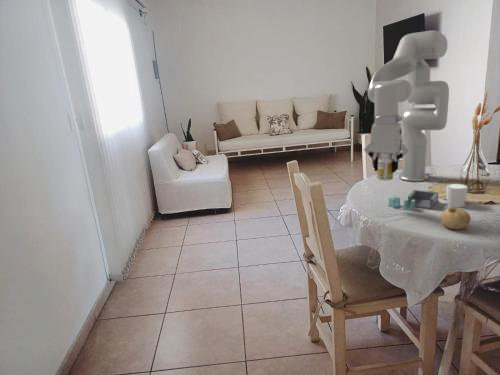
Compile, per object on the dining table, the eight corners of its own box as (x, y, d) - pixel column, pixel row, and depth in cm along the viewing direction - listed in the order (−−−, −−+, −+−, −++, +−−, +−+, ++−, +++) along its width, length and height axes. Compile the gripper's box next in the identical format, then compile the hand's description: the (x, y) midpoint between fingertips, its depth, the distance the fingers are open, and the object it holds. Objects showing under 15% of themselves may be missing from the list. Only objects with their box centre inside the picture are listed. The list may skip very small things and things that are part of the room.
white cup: (464, 201, 130) (465, 183, 128) (468, 208, 124) (470, 189, 122) (443, 201, 133) (444, 183, 131) (446, 207, 127) (447, 188, 125)
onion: (445, 220, 116) (446, 200, 114) (472, 225, 111) (474, 204, 109) (436, 229, 111) (438, 207, 109) (465, 234, 106) (467, 212, 104)
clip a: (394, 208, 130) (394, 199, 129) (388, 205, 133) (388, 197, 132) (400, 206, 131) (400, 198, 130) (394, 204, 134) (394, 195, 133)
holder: (412, 198, 138) (413, 189, 136) (438, 201, 132) (439, 192, 131) (406, 206, 131) (406, 196, 130) (433, 209, 125) (434, 199, 124)
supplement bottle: (392, 177, 129) (393, 151, 127) (393, 181, 125) (395, 153, 122) (376, 176, 131) (377, 150, 128) (377, 180, 126) (378, 153, 123)
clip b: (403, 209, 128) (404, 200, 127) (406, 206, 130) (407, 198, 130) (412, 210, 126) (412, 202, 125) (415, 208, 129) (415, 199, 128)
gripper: (415, 118, 119) (413, 169, 125) (365, 118, 129) (365, 166, 135) (409, 122, 113) (407, 175, 119) (357, 122, 124) (358, 171, 129)
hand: (385, 170), depth 127 cm, fingers closed on supplement bottle, 5 cm apart
